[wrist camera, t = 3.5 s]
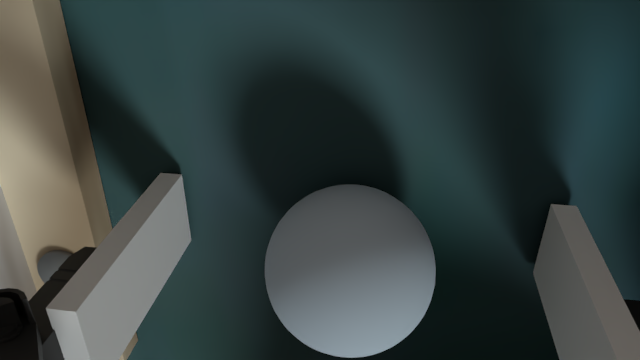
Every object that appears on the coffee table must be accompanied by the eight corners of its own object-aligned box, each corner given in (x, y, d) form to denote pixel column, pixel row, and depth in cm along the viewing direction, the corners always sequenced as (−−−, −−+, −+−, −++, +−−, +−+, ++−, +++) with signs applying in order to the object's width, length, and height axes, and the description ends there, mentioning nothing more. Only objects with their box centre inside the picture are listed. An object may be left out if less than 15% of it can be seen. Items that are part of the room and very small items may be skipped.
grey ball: (285, 272, 19) (250, 384, 15) (281, 149, 17) (237, 242, 13) (424, 286, 19) (428, 407, 14) (440, 161, 16) (452, 263, 12)
